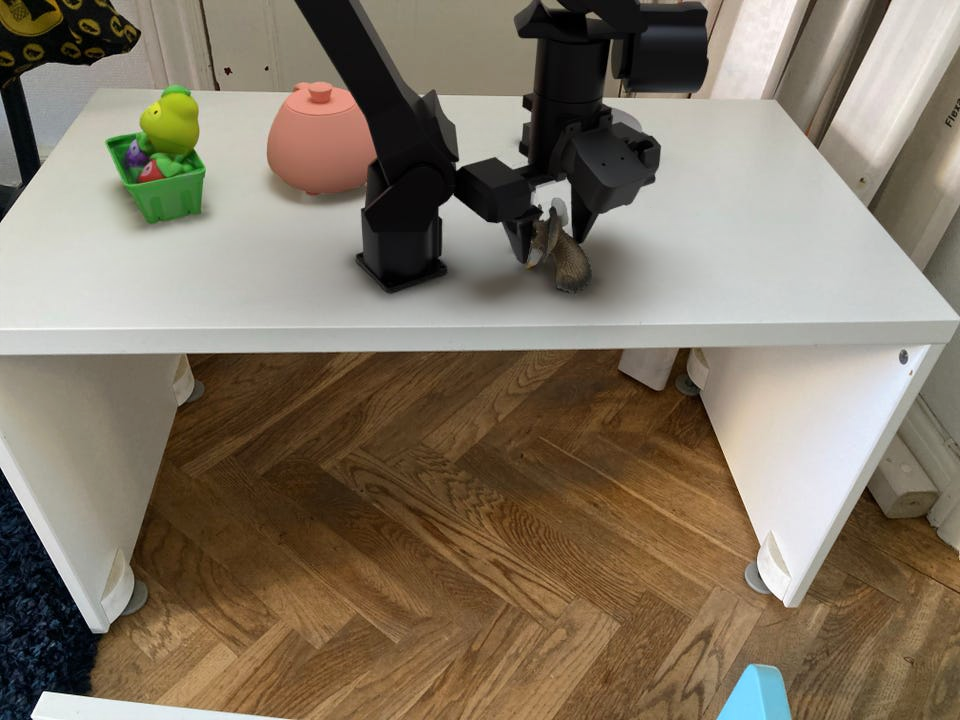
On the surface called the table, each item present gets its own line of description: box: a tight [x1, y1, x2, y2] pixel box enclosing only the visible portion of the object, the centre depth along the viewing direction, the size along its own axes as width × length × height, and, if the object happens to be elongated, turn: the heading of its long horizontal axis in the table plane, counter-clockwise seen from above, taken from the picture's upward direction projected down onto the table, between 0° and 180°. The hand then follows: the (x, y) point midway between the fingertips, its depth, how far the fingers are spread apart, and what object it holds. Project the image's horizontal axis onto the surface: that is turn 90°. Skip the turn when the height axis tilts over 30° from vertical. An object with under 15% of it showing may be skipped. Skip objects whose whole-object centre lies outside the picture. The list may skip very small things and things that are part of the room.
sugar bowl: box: [266, 81, 377, 197], centre depth 87 cm, size 12×14×10 cm
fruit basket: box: [104, 84, 207, 225], centre depth 81 cm, size 11×9×11 cm
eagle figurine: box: [525, 196, 593, 294], centre depth 76 cm, size 8×7×9 cm
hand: (550, 252), depth 77 cm, fingers closed on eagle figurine, 6 cm apart
